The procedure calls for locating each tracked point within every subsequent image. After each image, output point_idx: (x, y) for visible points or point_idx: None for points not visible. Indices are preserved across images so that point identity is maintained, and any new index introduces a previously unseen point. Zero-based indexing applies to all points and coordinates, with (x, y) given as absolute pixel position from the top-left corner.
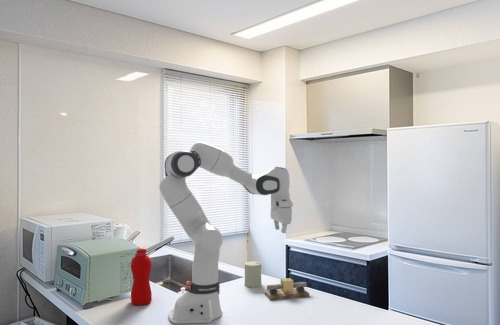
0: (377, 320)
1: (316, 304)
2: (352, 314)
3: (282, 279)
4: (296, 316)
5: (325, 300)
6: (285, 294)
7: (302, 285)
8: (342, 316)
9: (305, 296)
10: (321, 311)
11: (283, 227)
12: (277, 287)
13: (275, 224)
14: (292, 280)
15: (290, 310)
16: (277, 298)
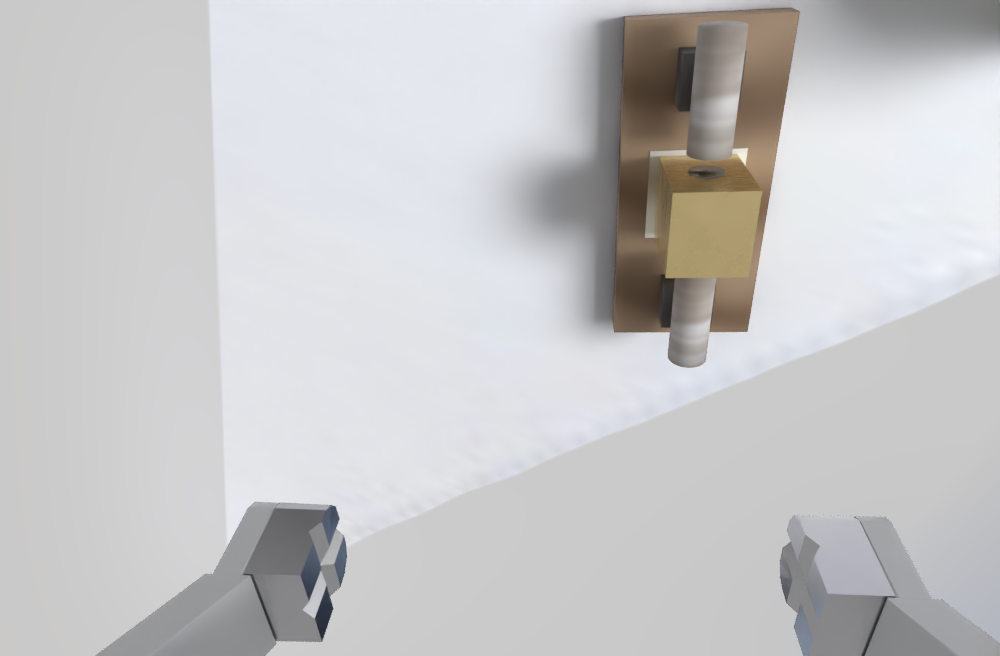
0: (224, 473)
1: (465, 309)
2: (298, 415)
3: (735, 201)
4: (278, 120)
5: (520, 378)
6: (646, 167)
7: (670, 327)
8: (273, 364)
9: (614, 297)
10: (350, 294)
11: (150, 636)
12: (690, 122)
13: (920, 640)
14: (673, 274)
15: (385, 114)
16: (622, 85)
